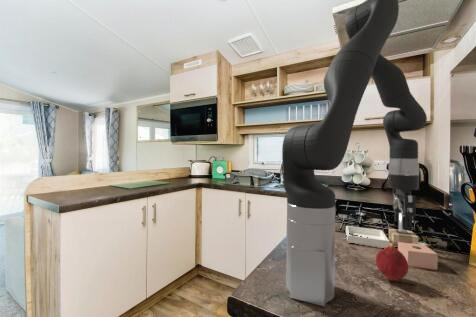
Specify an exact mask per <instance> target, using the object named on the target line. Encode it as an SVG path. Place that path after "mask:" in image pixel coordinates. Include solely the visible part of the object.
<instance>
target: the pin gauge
mask: <svg viewBox="0 0 476 317" xmlns="http://www.w3.org/2000/svg"><path fill="white" fill-rule="evenodd" d="M398 230H399V234H407V231H408V230H404V229H402V212H399V223H398Z"/></svg>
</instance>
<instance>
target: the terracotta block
mask: <svg viewBox="0 0 476 317" xmlns="http://www.w3.org/2000/svg"><path fill="white" fill-rule="evenodd" d="M397 250H398V251H400V252H401V253H402V254H403V255H404V257H405V258H406V260H407V263H408V267H410V268H412V267H413V268H421V269H428V270H434V269H435V270H436V271H438V265H439V264H438V256H439V255H438V253H436V252H435V251H434V250H432V248H429V247H428V246H427V245H426V244H421V243H418V244H412V243H402V242H398V248H397ZM435 270H434V271H435Z"/></svg>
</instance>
